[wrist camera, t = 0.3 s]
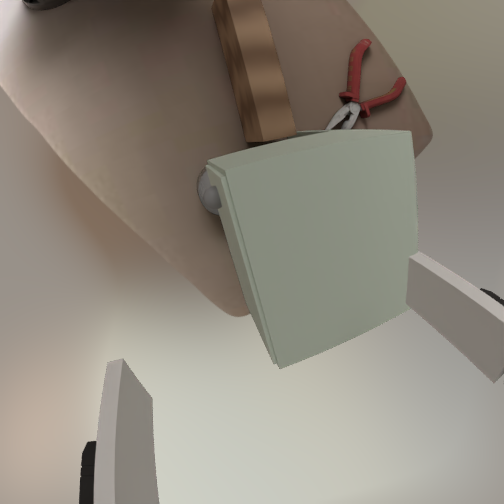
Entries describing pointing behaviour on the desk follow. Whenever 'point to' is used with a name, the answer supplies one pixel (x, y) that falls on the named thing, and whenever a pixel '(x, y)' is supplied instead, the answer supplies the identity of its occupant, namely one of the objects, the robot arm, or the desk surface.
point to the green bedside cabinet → (319, 234)
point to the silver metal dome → (204, 188)
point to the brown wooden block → (254, 70)
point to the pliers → (353, 91)
